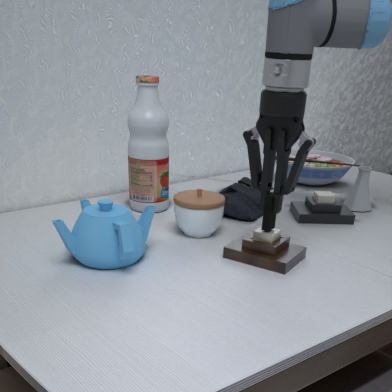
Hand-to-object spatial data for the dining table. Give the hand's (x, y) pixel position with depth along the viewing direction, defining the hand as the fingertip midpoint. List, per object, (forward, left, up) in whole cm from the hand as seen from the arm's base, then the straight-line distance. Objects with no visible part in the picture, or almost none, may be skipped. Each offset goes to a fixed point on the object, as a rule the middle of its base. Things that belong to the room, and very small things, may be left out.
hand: (268, 228), depth 95 cm
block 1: (0, 0, -6) cm, 6 cm away
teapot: (+28, +11, -6) cm, 31 cm away
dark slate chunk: (+12, -30, -6) cm, 33 cm away
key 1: (0, 0, -2) cm, 2 cm away
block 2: (-8, -30, -6) cm, 32 cm away
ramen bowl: (-2, -59, -6) cm, 59 cm away
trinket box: (+16, -8, -6) cm, 19 cm away
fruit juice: (+32, -20, -6) cm, 38 cm away
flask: (-16, -41, -6) cm, 44 cm away
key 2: (-8, -30, -2) cm, 31 cm away
